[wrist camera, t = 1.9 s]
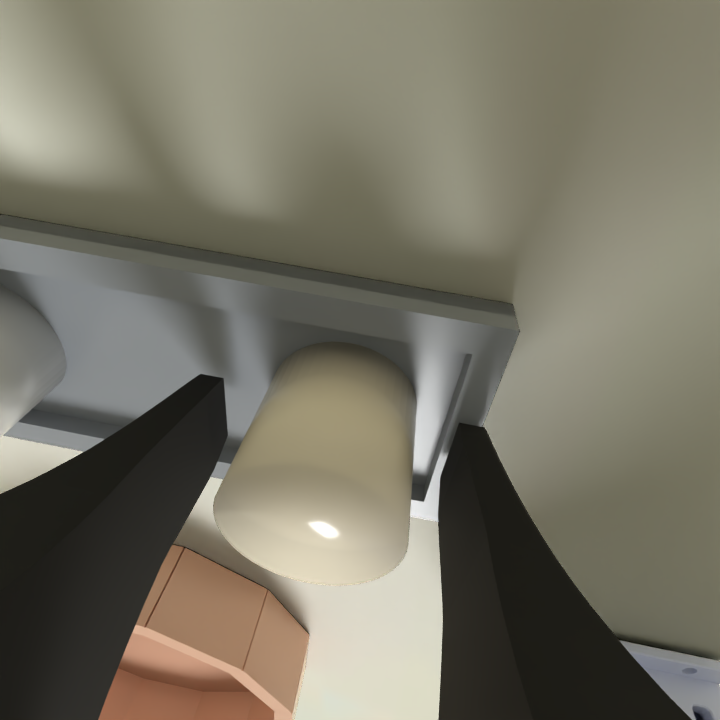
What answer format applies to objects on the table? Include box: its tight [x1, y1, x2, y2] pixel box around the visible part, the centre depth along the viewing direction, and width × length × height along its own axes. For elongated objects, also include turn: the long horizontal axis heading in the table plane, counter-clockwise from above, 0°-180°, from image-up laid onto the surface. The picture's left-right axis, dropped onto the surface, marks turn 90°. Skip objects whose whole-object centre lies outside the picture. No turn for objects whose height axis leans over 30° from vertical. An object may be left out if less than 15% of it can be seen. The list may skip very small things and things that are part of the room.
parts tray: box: [0, 214, 520, 522], centre depth 13 cm, size 17×7×1 cm, turn 83°
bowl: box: [98, 545, 309, 720], centre depth 23 cm, size 16×16×3 cm
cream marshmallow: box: [213, 342, 417, 586], centre depth 11 cm, size 4×4×4 cm
